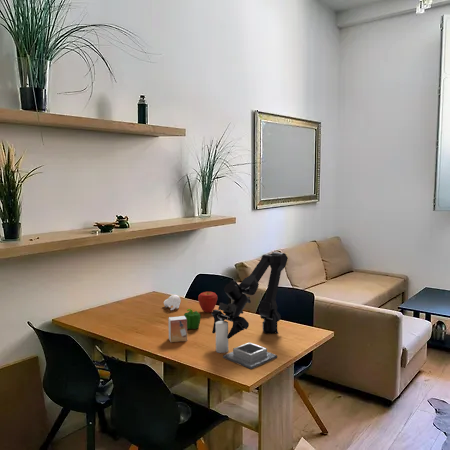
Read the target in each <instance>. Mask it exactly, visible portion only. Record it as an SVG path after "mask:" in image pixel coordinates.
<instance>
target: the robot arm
mask: <svg viewBox="0 0 450 450" xmlns="http://www.w3.org/2000/svg"><path fill="white" fill-rule="evenodd" d="M287 262H288V255H287V254H286V253H284V252H279V251H272V252H271V253H266V254H262V255H261V259H260V260H259V262H257V264H256V266H255V267H254V269H253V271H251V273H250V274H249V276H247V277H245V278H243V280H242V281H241V282H240V283H238V282H237V281H236V280H232V281H231V282H229V283H227V284H226V285H225V286H224V287H223V291H224V293H225V294H226V295H227V297H228V298H230V300H232V301H231V303H228V304H227V303H223V302H219V305H218V308H217V309H215V308H214V310H213V311H212V312H210V315H212V318H213V319H214V320H213V326H212V330H211V331H212V332H211V333H212V334H213V335H214V334H216V324H215V323H216V322H217V321H227V322H231V323H232V327H231V328H230V329H229V331H228V336H227V338H228V340H229V339H231V338H232V337H233V336H235V335H237V334H239V333H240V332H241V331H245V330H248V329H249V325H250V323H249V322H248V321H247V320H246V318H245V317H243V316H241V315H243V314H244V311H243V310H244V309H245V306H246V305H247V303H249V304H251V297H250V296H253V295H255V294H256V293H257V291H258V289H259V282H260V281H261V279H262V277H263V276H264V274H265V273H266V272H267V270H268V268H269V267H270V273H269V278H268V282H267V288H266V293H265V298H264V299H263V300H261V301H259V307H258V313H259V315H260V319H261V320H263V321H262V331H263V332H264V334H266V335H267V334H270V335H271V334H279V331H278V322H279V321H281V319H282V318H281V317H282V315H281V314H280V313H279V312H278V304H277V301H276V299H277V294H278V291H279V284H280V281H281V279H280V278H281V274H282V271H283V270H284V269H285V268H286V265H287ZM248 295H249V296H248Z"/></svg>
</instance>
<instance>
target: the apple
mask: <svg viewBox="0 0 450 450" xmlns="http://www.w3.org/2000/svg"><path fill="white" fill-rule="evenodd" d="M197 301H198V304H199V306H200V308H201V310H202V311H203V312H204V313H206V314H207V313H209V314H211V313H212V311H213V310H215V307H216V305H217V303H218V302H217V301H218V295H217V294H216V292H213V291H203V292H201V293H200V294H199V295H198V298H197Z"/></svg>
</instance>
